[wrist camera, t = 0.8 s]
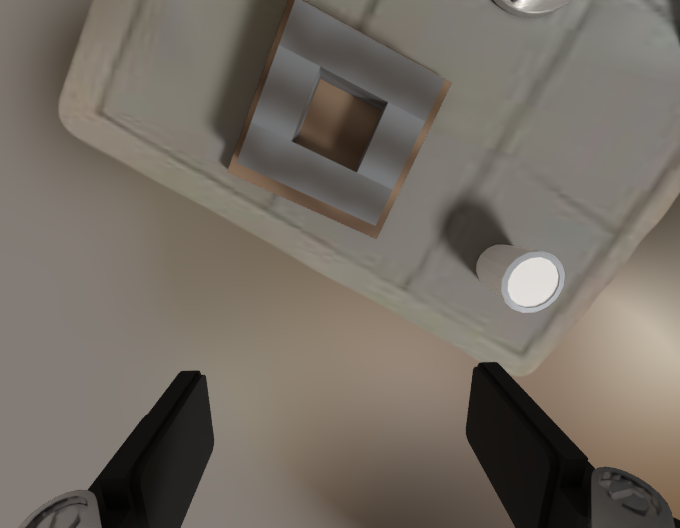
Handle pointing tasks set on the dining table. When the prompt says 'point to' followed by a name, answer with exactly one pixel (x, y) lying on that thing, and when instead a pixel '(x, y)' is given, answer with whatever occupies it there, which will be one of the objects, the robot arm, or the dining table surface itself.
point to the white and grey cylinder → (521, 276)
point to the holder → (336, 119)
